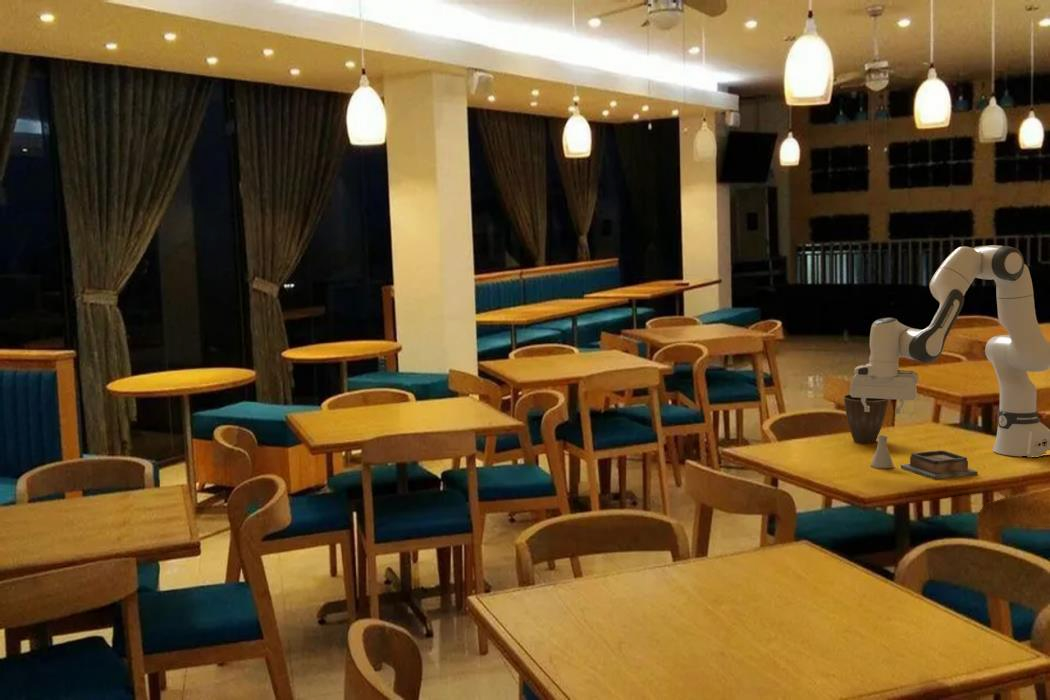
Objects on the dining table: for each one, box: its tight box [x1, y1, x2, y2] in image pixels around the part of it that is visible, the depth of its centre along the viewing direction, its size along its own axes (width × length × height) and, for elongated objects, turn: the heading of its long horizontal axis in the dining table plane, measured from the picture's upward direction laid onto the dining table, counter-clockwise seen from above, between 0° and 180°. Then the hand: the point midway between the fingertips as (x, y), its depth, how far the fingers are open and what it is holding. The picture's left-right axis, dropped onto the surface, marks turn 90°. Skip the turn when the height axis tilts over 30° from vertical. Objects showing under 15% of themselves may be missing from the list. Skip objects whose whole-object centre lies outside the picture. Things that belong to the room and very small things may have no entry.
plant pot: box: [843, 394, 889, 444], centre depth 374 cm, size 15×15×16 cm
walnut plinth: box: [900, 450, 979, 480], centre depth 330 cm, size 16×16×5 cm
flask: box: [870, 434, 895, 469], centre depth 337 cm, size 7×7×10 cm
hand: (882, 412), depth 336 cm, fingers open, 8 cm apart
